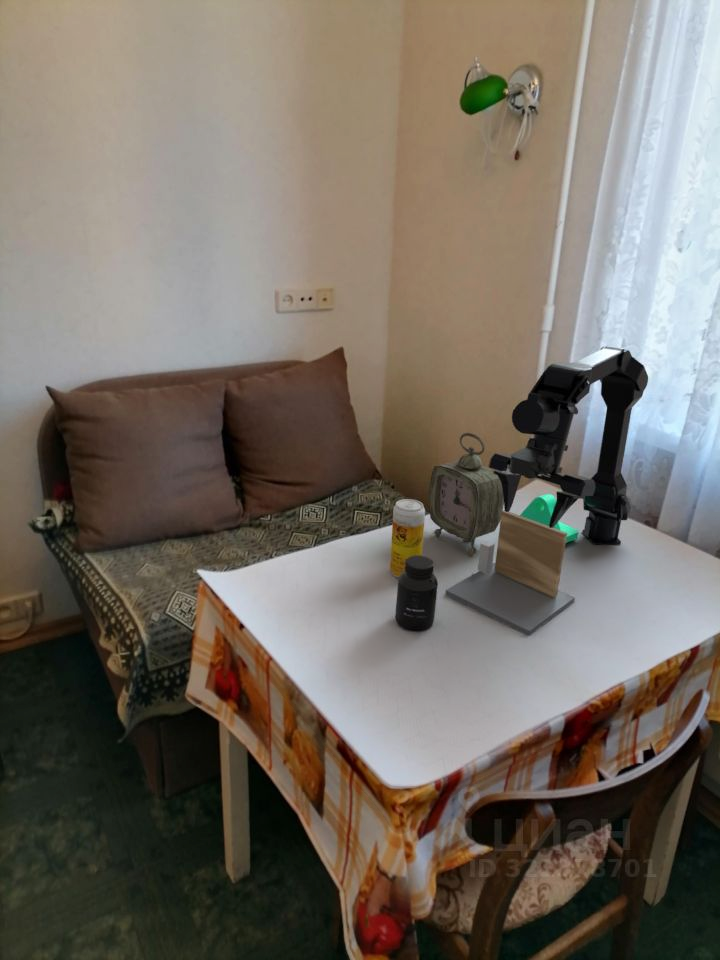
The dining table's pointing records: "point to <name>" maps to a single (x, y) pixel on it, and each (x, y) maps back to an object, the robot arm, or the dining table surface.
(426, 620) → the supplement bottle
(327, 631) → the dining table surface
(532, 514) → the camera mount
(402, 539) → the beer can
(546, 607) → the housing stand
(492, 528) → the tabletop clock
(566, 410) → the robot arm
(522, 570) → the door
